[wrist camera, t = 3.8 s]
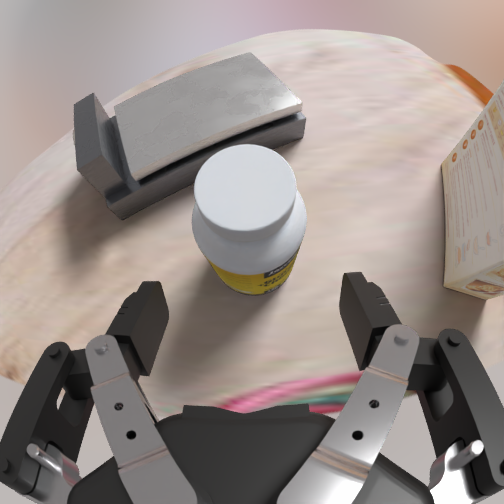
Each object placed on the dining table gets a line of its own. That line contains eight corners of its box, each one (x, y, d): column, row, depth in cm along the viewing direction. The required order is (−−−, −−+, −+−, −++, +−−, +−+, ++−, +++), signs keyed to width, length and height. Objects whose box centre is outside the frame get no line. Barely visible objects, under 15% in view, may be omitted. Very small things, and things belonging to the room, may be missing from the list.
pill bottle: (250, 313, 22) (233, 287, 11) (200, 254, 24) (149, 183, 12) (309, 261, 23) (346, 190, 12) (258, 208, 25) (252, 112, 13)
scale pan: (136, 181, 22) (130, 174, 21) (118, 113, 25) (113, 106, 24) (301, 111, 24) (302, 102, 23) (250, 60, 27) (250, 52, 26)
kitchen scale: (117, 223, 25) (72, 182, 17) (100, 145, 28) (69, 103, 21) (303, 137, 27) (311, 78, 19) (251, 78, 30) (248, 27, 23)
